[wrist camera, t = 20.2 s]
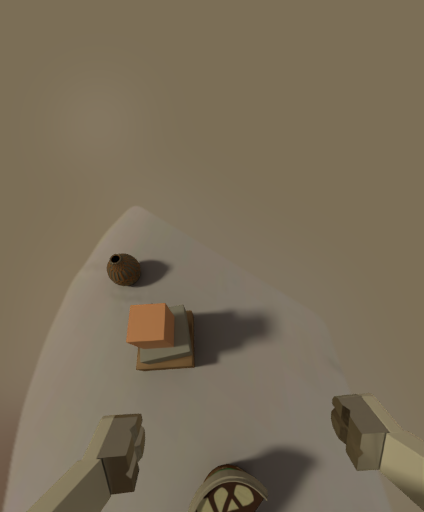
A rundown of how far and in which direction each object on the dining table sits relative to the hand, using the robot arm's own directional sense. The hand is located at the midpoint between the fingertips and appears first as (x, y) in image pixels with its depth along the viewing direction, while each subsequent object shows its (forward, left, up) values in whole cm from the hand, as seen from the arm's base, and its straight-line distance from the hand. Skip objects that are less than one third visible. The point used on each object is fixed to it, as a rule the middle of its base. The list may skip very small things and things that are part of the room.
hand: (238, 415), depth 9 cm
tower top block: (+10, +9, -33) cm, 35 cm away
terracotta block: (+10, +10, -28) cm, 31 cm away
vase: (+25, +20, -38) cm, 50 cm away
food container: (-13, +2, -38) cm, 40 cm away
